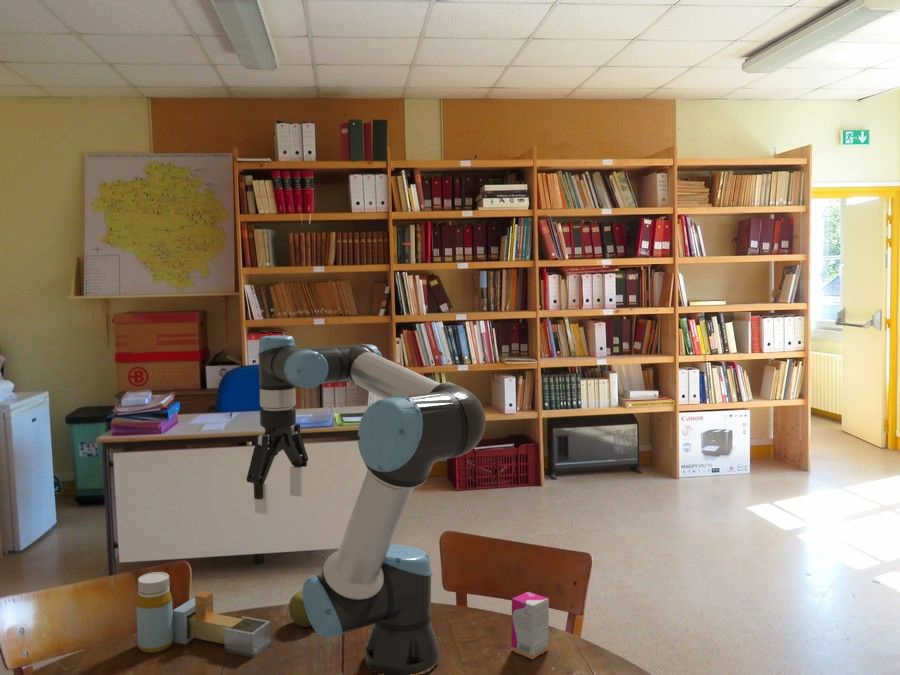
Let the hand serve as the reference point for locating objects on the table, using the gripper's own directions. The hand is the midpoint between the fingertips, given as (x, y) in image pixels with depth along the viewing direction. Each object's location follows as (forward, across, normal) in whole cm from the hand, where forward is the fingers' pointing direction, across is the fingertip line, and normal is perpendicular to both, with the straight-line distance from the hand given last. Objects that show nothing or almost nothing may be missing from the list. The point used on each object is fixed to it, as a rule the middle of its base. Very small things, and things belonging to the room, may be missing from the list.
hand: (279, 504), depth 171 cm
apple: (+29, -5, +3) cm, 30 cm away
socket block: (+29, +9, -18) cm, 35 cm away
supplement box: (+29, -11, +53) cm, 62 cm away
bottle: (+29, +15, -21) cm, 39 cm away
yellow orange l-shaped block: (+28, +9, -12) cm, 31 cm away
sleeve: (+29, +9, -2) cm, 30 cm away
